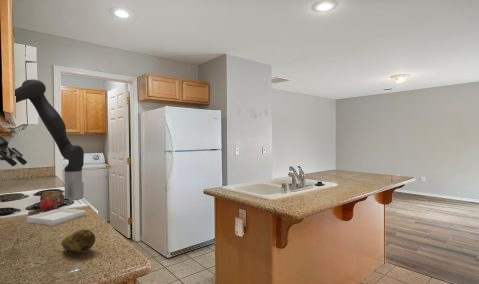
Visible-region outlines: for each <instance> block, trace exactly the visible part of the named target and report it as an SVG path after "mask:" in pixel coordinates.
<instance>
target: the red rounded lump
mask: <svg viewBox="0 0 479 284" xmlns="http://www.w3.org/2000/svg"><path fill="white" fill-rule="evenodd" d="M53 207H54V203H53V201H52V200H50V199H49V198H48V197H46V199H44V200H43V201H42V202H40V204H39V209H41V210H42V211H43V212H42V213H44V212H48V211H52V209H53Z"/></svg>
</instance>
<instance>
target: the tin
mask: <svg viewBox="0 0 479 284" xmlns="http://www.w3.org/2000/svg"><path fill="white" fill-rule="evenodd" d="M46 197H48V198H49V199H50V200H52V201H53V203H54V206H56V207H57V206H58V207H61V206H62V205H63V204H64V202H65V194H64V193H63V192H61V191H55V190H54V191H53V190H47V191H46V190H45V191H43V192H42V193H41V194H40V197H39V201H40V203H41V202H42V201H43V200H44V199H46Z"/></svg>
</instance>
